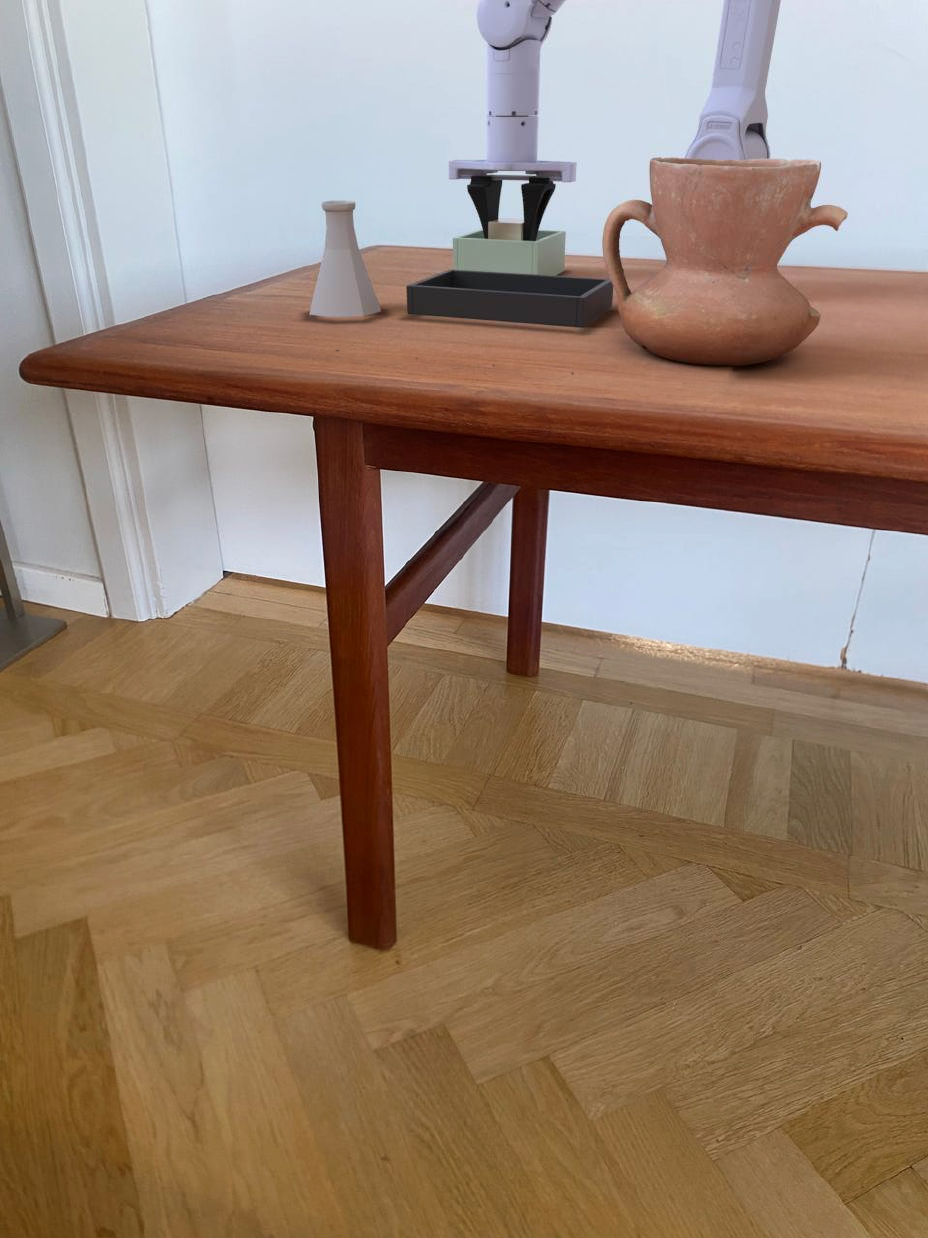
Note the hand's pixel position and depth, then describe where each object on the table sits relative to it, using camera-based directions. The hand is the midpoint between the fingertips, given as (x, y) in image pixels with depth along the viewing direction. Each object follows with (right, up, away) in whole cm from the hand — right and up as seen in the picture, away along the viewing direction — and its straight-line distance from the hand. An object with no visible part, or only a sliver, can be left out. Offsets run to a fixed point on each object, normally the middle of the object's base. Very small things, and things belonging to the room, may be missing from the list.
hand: (510, 249), depth 108 cm
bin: (0, -3, +1) cm, 3 cm away
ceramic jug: (+14, -22, -33) cm, 42 cm away
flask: (-17, -14, -18) cm, 28 cm away
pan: (-1, -14, -19) cm, 23 cm away
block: (0, -1, 0) cm, 1 cm away
